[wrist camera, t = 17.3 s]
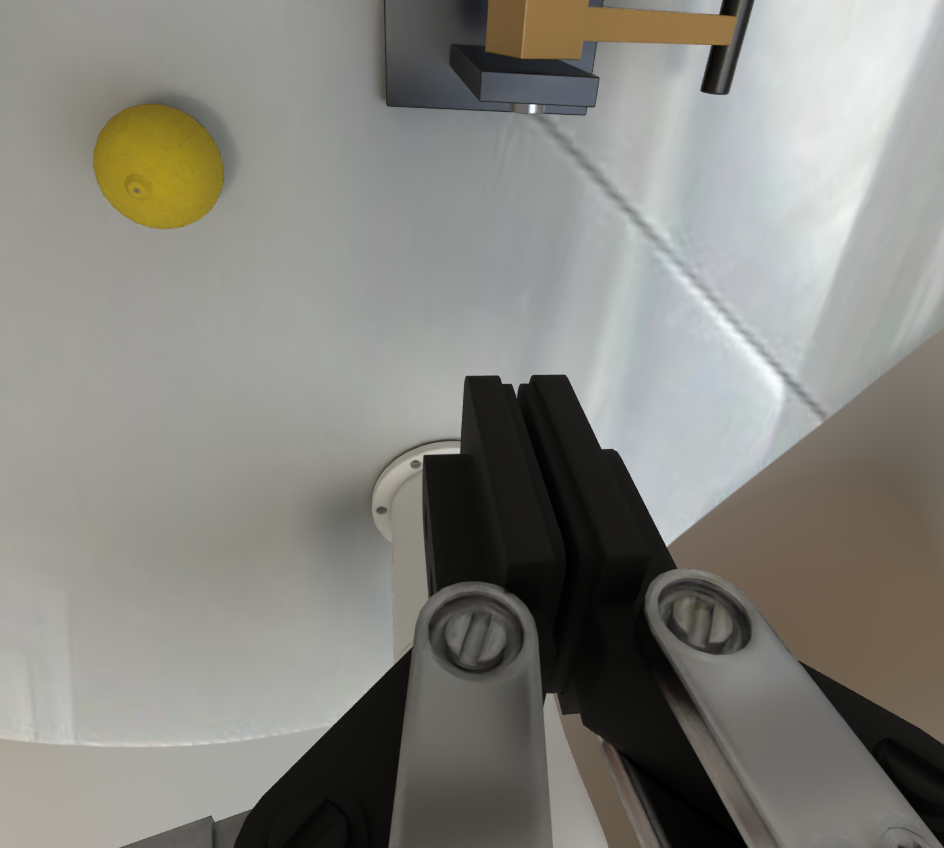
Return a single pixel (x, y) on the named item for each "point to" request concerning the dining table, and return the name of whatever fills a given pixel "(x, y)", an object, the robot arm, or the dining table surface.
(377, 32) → the dining table surface
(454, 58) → the bracket
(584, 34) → the lever
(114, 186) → the lemon
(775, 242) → the dining table surface
